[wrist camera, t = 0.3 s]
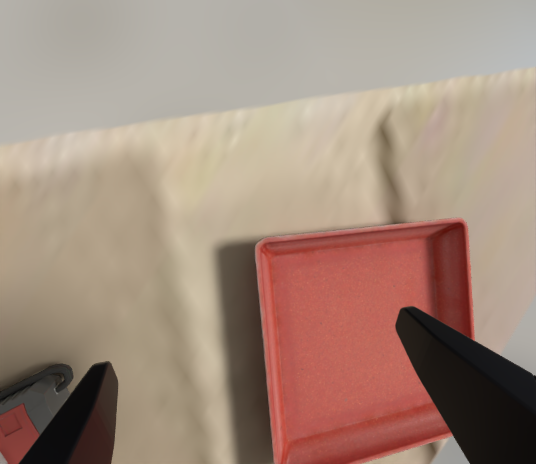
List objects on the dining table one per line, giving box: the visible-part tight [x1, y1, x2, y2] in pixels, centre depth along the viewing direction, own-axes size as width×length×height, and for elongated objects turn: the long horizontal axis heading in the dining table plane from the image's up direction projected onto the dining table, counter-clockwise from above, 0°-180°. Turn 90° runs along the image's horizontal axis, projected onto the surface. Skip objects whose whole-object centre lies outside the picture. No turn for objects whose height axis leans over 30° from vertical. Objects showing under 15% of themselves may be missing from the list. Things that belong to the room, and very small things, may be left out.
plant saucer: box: [255, 218, 475, 464], centre depth 26 cm, size 18×18×3 cm
